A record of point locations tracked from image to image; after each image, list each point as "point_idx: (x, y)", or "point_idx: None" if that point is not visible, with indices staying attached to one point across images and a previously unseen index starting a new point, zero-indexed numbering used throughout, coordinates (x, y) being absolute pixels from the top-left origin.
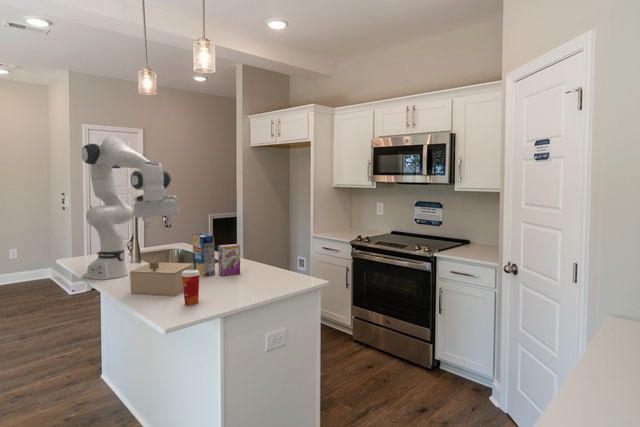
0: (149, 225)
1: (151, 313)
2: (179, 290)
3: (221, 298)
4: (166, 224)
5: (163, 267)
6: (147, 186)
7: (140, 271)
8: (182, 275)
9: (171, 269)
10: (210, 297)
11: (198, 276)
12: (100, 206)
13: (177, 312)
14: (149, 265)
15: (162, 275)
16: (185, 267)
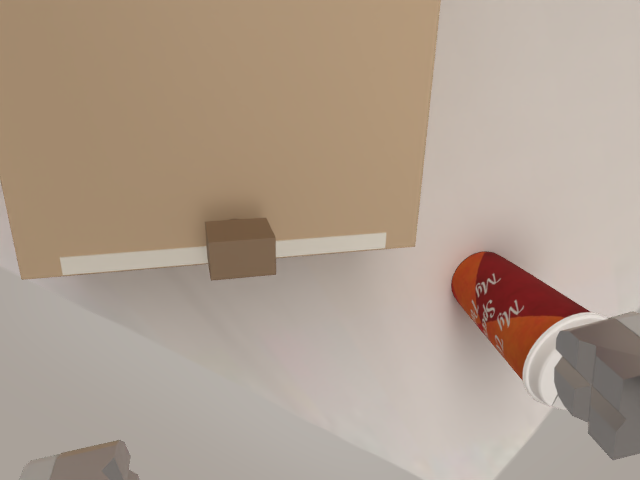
0: (128, 477)
1: (364, 423)
2: None
3: (594, 184)
4: (580, 405)
5: (235, 87)
6: None
7: (127, 269)
8: (537, 401)
9: (345, 150)
10: (542, 178)
11: None
12: None
13: (458, 387)
14: (25, 15)
15: None
16: (432, 58)
